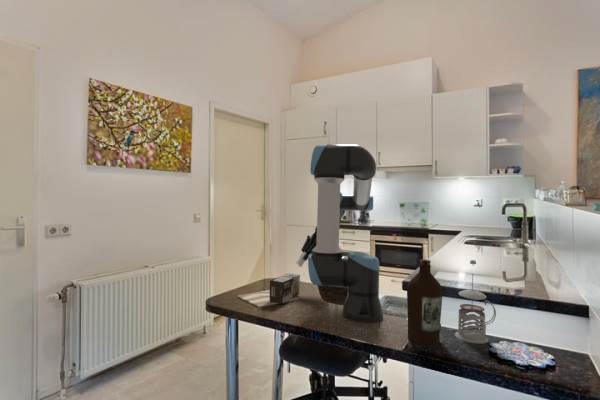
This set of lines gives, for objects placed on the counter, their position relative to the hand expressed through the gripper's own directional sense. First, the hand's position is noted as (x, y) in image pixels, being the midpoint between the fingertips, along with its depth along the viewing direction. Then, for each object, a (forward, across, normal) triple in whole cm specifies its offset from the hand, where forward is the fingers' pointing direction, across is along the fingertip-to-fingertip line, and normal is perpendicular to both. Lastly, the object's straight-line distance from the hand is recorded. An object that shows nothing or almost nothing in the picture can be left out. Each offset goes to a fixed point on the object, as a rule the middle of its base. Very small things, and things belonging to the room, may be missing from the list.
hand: (298, 264), depth 161 cm
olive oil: (+11, -66, -7) cm, 67 cm away
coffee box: (+9, -3, -2) cm, 9 cm away
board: (+21, 0, +3) cm, 21 cm away
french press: (0, -75, -18) cm, 77 cm away
